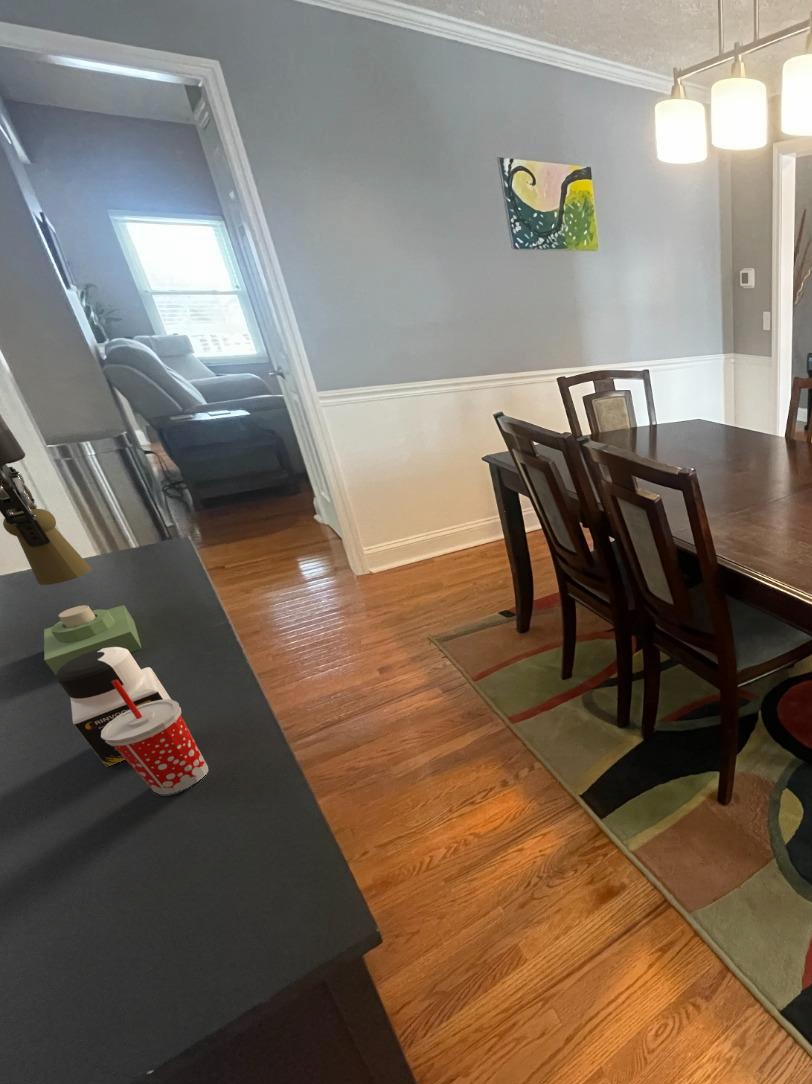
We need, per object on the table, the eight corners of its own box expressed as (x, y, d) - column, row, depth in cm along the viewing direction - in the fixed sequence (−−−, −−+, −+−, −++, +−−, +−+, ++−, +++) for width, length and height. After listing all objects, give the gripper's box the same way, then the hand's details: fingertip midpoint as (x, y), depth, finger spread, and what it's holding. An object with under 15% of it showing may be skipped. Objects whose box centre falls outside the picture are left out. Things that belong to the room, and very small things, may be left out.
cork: (34, 578, 94) (-10, 515, 89) (86, 563, 99) (47, 501, 94) (42, 588, 91) (-4, 523, 86) (95, 572, 96) (55, 508, 90)
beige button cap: (96, 621, 89) (89, 610, 88) (66, 631, 87) (58, 619, 86) (95, 614, 91) (88, 602, 90) (66, 623, 89) (58, 611, 88)
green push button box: (141, 648, 90) (124, 621, 88) (57, 678, 84) (36, 649, 82) (134, 621, 97) (117, 595, 95) (56, 646, 92) (36, 619, 89)
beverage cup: (229, 755, 69) (169, 658, 63) (195, 797, 64) (126, 696, 57) (170, 763, 69) (103, 666, 62) (131, 807, 63) (53, 705, 57)
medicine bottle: (107, 769, 68) (44, 687, 63) (102, 740, 73) (43, 661, 67) (186, 734, 73) (135, 655, 67) (178, 709, 77) (128, 632, 71)
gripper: (-67, 430, 86) (6, 536, 94) (-80, 447, 77) (3, 562, 85) (9, 419, 91) (73, 520, 99) (5, 433, 82) (76, 543, 90)
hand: (40, 539), depth 92 cm, fingers closed on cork, 5 cm apart
